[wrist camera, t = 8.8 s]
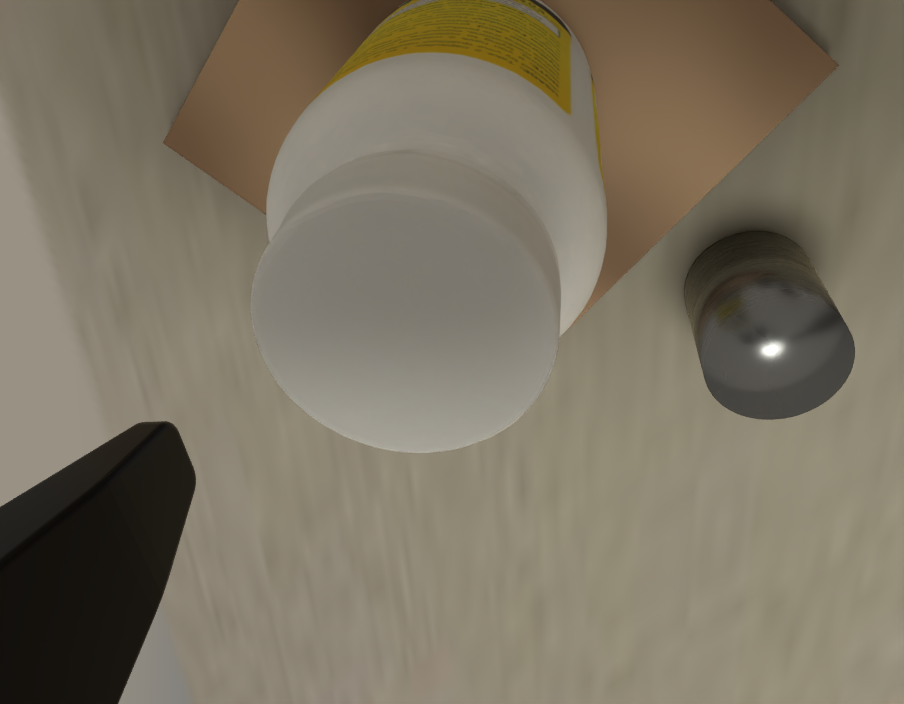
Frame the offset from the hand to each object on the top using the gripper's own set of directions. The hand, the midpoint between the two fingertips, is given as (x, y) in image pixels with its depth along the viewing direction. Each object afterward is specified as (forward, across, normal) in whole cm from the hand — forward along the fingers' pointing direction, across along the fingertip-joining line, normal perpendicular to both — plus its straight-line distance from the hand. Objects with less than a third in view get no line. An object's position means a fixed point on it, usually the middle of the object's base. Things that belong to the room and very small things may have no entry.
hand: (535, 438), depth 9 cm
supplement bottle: (+11, +2, -1) cm, 11 cm away
